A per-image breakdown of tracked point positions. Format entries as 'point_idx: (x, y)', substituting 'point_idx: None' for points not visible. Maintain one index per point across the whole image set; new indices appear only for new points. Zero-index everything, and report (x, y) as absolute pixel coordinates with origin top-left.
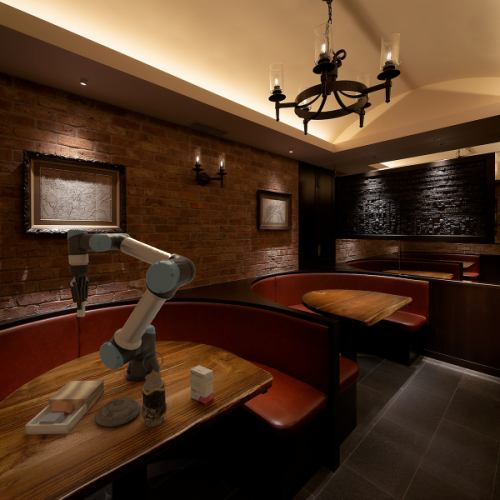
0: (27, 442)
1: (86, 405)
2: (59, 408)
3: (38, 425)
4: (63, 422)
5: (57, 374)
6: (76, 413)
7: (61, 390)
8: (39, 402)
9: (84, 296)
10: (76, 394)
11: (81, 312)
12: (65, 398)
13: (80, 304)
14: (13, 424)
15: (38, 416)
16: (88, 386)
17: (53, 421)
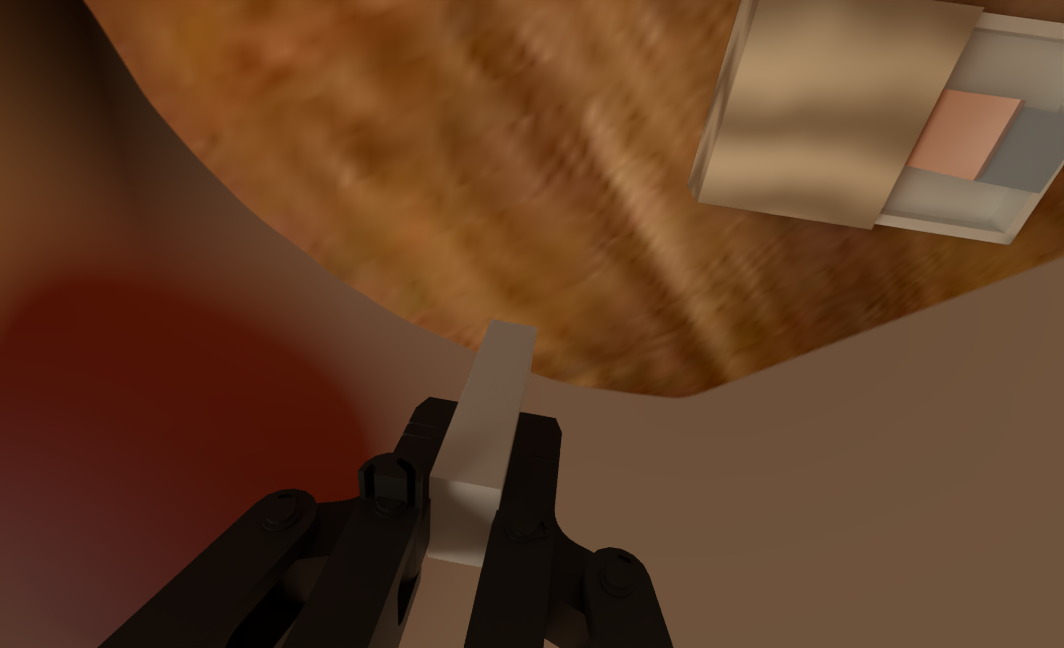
0: (1057, 198)
1: None
2: (1004, 134)
3: (1047, 187)
4: (1008, 95)
5: (491, 312)
6: (1047, 31)
7: (796, 203)
8: (732, 283)
9: (369, 586)
10: (890, 97)
11: (525, 384)
12: (907, 144)
13: (540, 489)
14: (872, 306)
15: (946, 223)
16: (814, 58)
17: None
